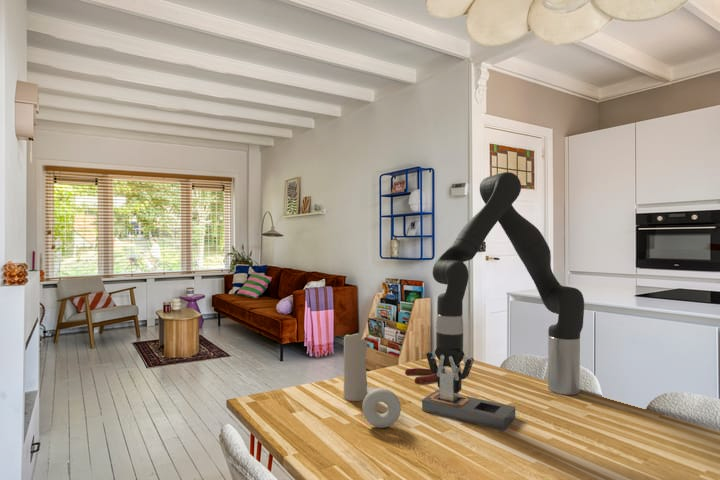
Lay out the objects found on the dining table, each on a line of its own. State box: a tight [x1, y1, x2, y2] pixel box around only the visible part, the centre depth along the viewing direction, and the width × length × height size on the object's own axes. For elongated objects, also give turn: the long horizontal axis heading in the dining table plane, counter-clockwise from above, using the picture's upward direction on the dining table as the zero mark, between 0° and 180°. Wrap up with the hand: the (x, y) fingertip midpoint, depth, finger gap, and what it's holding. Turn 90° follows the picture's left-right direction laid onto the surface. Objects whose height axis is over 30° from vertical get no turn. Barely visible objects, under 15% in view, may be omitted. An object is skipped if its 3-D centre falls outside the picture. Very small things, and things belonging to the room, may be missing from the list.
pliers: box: [404, 367, 438, 384], centre depth 156 cm, size 12×20×3 cm, turn 104°
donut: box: [361, 387, 402, 429], centre depth 115 cm, size 10×4×10 cm, turn 86°
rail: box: [421, 389, 516, 432], centre depth 124 cm, size 10×23×3 cm, turn 55°
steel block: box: [440, 368, 460, 404], centre depth 127 cm, size 4×4×9 cm
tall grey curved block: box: [343, 333, 378, 402], centre depth 139 cm, size 7×14×20 cm, turn 148°
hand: (449, 390), depth 127 cm, fingers closed on steel block, 4 cm apart
